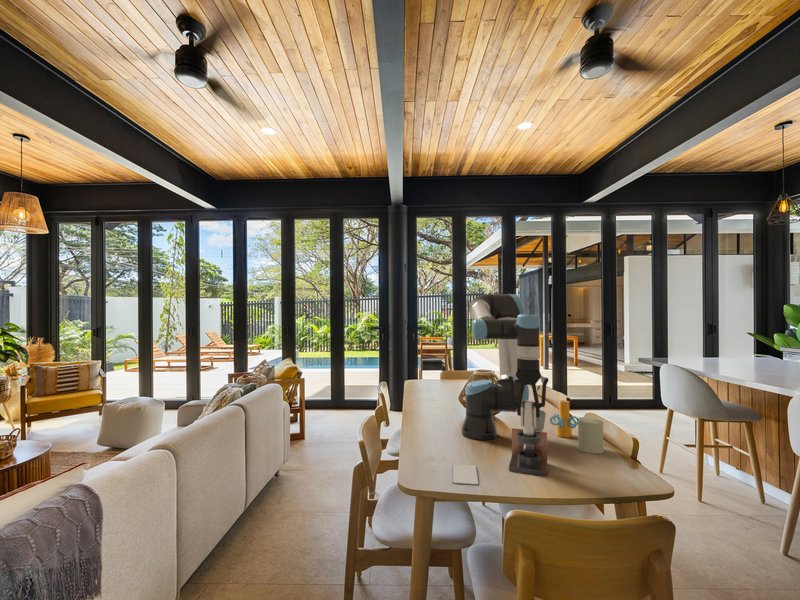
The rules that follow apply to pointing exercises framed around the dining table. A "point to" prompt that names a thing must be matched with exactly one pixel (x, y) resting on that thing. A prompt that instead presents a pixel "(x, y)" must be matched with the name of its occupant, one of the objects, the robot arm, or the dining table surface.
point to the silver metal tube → (528, 426)
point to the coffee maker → (540, 421)
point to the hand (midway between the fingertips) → (528, 425)
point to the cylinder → (564, 420)
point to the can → (590, 435)
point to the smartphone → (464, 474)
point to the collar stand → (529, 464)
